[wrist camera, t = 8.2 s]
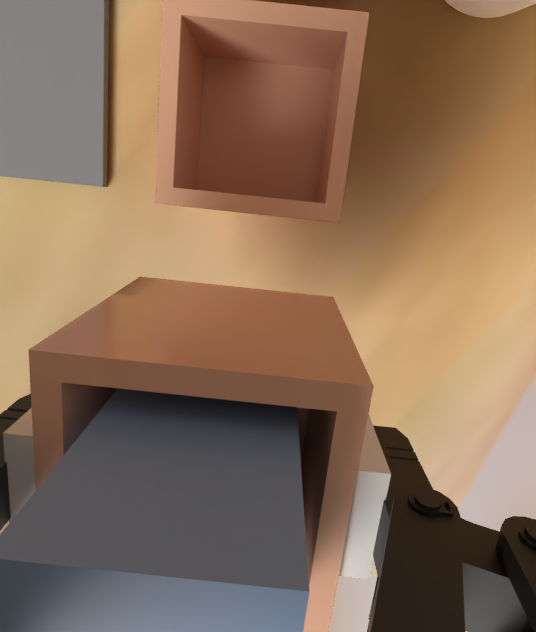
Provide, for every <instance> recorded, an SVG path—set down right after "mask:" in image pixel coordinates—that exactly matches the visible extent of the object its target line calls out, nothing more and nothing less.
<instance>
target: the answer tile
mask: <svg viewBox="0 0 536 632" xmlns="http://www.w3.org/2000/svg"><path fill="white" fill-rule="evenodd" d="M108 77H109V0H0V176H7V177H16V178H26V179H35V180H45V181H54V182H63V183H73V184H82V185H92V186H101V187H107V174H108Z"/></svg>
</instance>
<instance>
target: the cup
mask: <svg viewBox="0 0 536 632" xmlns="http://www.w3.org/2000/svg"><path fill="white" fill-rule="evenodd" d="M444 1H445V2H446V3H447V4H449V5H450V6H452V7H453V8H455V9H456V10H457V11H459V12H462V13H464V14H467V15H470V16H473V17H480V18H493V17H501V16H504V15H508V14H511V13H514V12H517V11H519V10H521V9H524V8H526V7H529V6H531V5H534V4H536V0H444Z"/></svg>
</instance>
